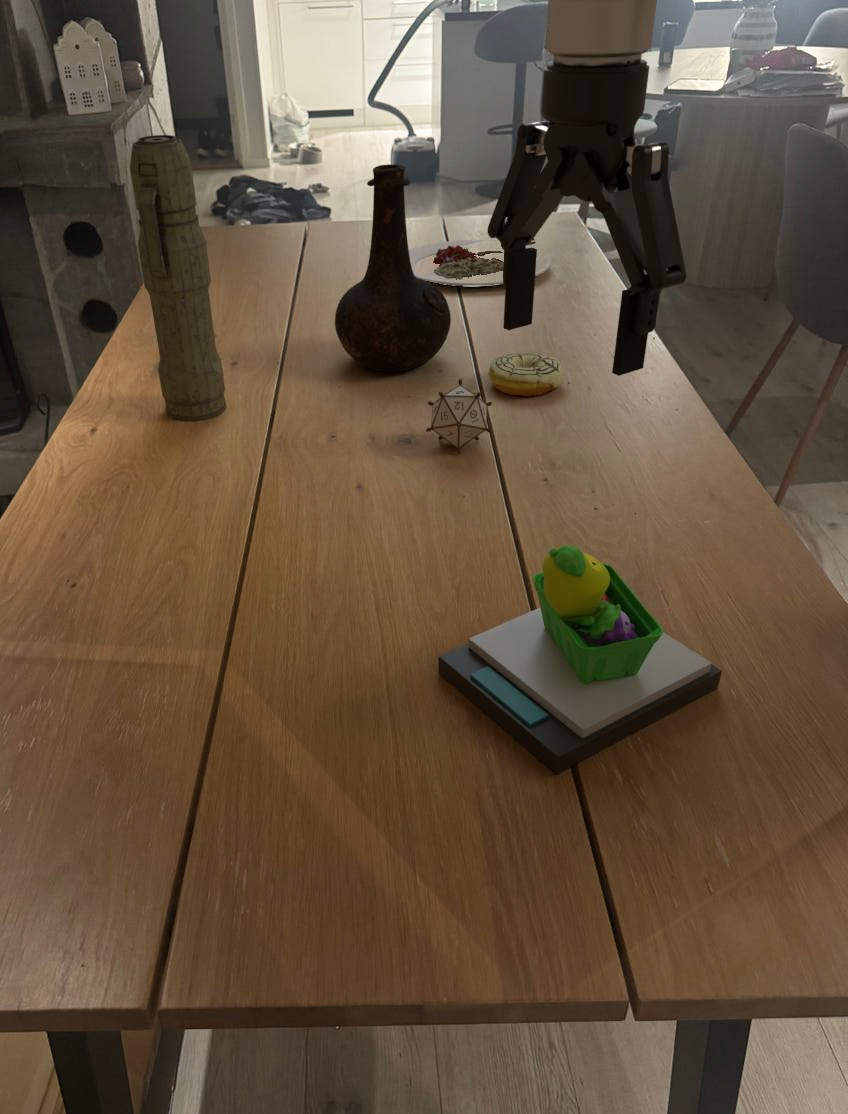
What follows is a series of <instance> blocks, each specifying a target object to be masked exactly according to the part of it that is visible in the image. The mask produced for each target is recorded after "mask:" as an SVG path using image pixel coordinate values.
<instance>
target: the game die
mask: <svg viewBox="0 0 848 1114" xmlns="http://www.w3.org/2000/svg"><path fill="white" fill-rule="evenodd" d="M457 383H458V385H457V386H455V387H454V388H452V389H450V390H449V391H447V392H446V393H444V392H443V391H438V396H439V398H438V399H437V400H435V401H434V402H433V401H431V400H429V401H427V405H428V406H432V407H431V420H430V421H431V422H430V427H426V430H425V432H428V433H429V432H431V431H433V432H434V433H436V434H437V435H438V441H440V440H443V439H444V440H445V441H446V442H448V443H449V444H450V445H452V446H453V447H455V448H456V450H455V453H456V455H457V456H459V455H460V454H461V448H463V447H464V446H465V445H467V444H468V443H470V442H471V441H473V440H475V441H479V440H480V437H479V436H480V435H481V434H483V433H484V432H487V433H488V434H489V433H493V430H492V428H490V427H488V407H492V404H493V401H488V402H487V403H486V402H485V401H484V400H483V399H482V398H481V396H482V392H481V391H478V392H477V393H474V392H473V391H472V390H469V388H467V387H465V386H464V385H463V379H462V378H461V377H459V379H458V382H457Z"/></svg>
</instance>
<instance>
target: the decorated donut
mask: <svg viewBox="0 0 848 1114" xmlns="http://www.w3.org/2000/svg"><path fill="white" fill-rule="evenodd" d="M488 371H489V372H488V376H489V379H490V381H491V382H492V384H493V386H494V387H495V388H496V389H497V390H498V391H500V392H502V393H504V394H507V395H509V396H521V397H531V396H533V395H534V397H537V396H540V395H542V394H543V393H544V394H546V393H549V392H551V391H554V390H553V389H555V388H556V389H557V388H558V387H559V386H560V385H561V384H562V381H563V377H564V374H565V369H564V366H563V364H562V363H561V362H560V361H559V360H558V359H557V358H555V357H553V356H551V355H545V354H538V353H532V352H527V353H526V352H525V353H509V354H506V355H502V356H499V357H497V358H495V359H493V360H492V362H490V363H489V368H488ZM556 389H555V390H556ZM550 390H551V391H550ZM548 391H549V392H548ZM536 395H537V396H536Z"/></svg>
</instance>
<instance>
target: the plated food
mask: <svg viewBox="0 0 848 1114" xmlns="http://www.w3.org/2000/svg"><path fill="white" fill-rule="evenodd" d="M482 241H483V242H484V241H491V239H490V240H487V239H464V240H461V239H460V240H450V241H449V240H448V241H442V242H434V243H430V244H424V245H421V246H417V247H414V248H412V249H409V256H410V262H411V267H412V270H413V273H414V275H415V277H416V278H419V279H422V280H424V281H429V283H430V282H434V283H440V284H446V285H455V286H463V285H494V284H503V281H498V282H488V283H459V280H461V279H462V278H463V277H468V278H469V277H472V275H473V276H476V275H480V274H481V275H487V274H491V273H496V272H499V271H503V269H504V268H503V265H504V262H503V261H501V260H499V259H496V258H492V259H491V260H489V259H484V258H480V257H479V258H477V257H476V256H474V255H478V256H484V255H485V254H490V253H503V252H501V251H485V252H478V253H477V254H476V253H472V252H469V251H468V249H467V248H466V249H465V248H464V249H463V248H462V247H461V246H463V245H469V244H473V243H476V242H477V243H478V242H482ZM544 253H545V254H546V256H548V263H547V264H546V265H545V267H543V268H542V269H540V270H539V271H537V272H535V277H537V276H539V275H541V274H544V273H545V272H546V271H547V270H549V269H550V267H551V265H550V264H552V259H551V256H549V255H548V254H547V253H546V252H544ZM432 255H436V257H434V261H433V263H435V264H440V265H439V267H437V268H436V269H434V272H430V274H432V275H430V274H429V275H428V276H425V277H424V276H422V275H420V274H418V273H417V272H415V270H414V265H415V264H416V263H417V262H418V261H420V260H421V259H424V258H426V257H429V256H432ZM549 266H550V267H549ZM456 279H457V280H456ZM458 279H459V280H458ZM434 283H433V284H434Z"/></svg>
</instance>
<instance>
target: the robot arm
mask: <svg viewBox="0 0 848 1114" xmlns="http://www.w3.org/2000/svg"><path fill="white" fill-rule="evenodd" d="M657 4H658V0H547V10H546V23H545V34H544V37H545V38H544V47H543V48H544V51H545V52H546V53H547V54H548V55H550V56H552V60H551V61H548V62H546V65H545V66H544V67H543V71H542V72H543V73H542V75H543V76H542V87H541V88H542V89H541V101H540V114H541V116H542V118H543V119H544V120H541V121H535V122H529V123H523V124H520V125H519V127H518V130H517V133H516V135H517V136H516V144H515V151H514V155H513V158H512V161H511V163H510V166H509V169H508V171H507V174H506V177H505V179H504V182H503V185H502V188H501V191H500V192H499V196H498V198H497V201H496V204H495V206H494V210H493V213H492V215H491V217H490V221H489V223H488V225H487V235H488V237H489V238H490V239H496V240H497V241H500V243H501V247H502V249H503V250H504V265H503V268H504V269H503V284H504V285H503V287H504V289H505V290H504V308H503V309H504V310H503V312H504V313H503V326H502V327H503V329H505V330H506V331H512V330H515V329H516V330H517V329H519V328H523V327H526V326H530V325H533V313H534V300H535V283H536V276H535V272H536V258H537V249H538V248H536V249H535V247H533V248H532V246H531V245H535V244H536V243H537V242H536V241H535V237H536V236H537V234H538V233H539V232H540V230H541V229H542V227H543V226H544V225H545V223H546V222H547V221H548V219H549V218H550V216H551V215H552V213H553V212H554V210H555V209H556V208H557V206H558V205H559V203H560V202H561V201H562V200H563V199H564V197H566V198H568V197H576V198H577V199H579V200H580V201H583V202H587V203H589V202H592V205H593V208H594V209H595V211H597V212H599V213H600V214H602V217H603V219H604V222H605V224H606V226H607V230H608V231H609V234H610V236H611V239H612V242H613V244H614V246H615V249H616V252H617V254H618V256H619V259H620V262H621V264H622V267H623V269H624V271H625V274H626V276H627V279H628V282H629V284H630V287H628V288H627V289H622V290H621V299H620V306H619V315H618V322H617V331H616V338H615V346H614V355H613V363H612V370H611V373H612V374H613V375H615V376H618V377H620V376H623V375H626V374H629V373H633V372H636V371H639V370H641V369H644V366H645V365H644V364H645V358H646V351H647V343H648V336H649V333H653V332H654V329H655V328H656V325H657V324H656V323H657V317H658V310H659V304H660V299H661V298H660V296H661V293H662V291H663V290H664V289H668V288H671V287H675V286H679V285H682V284H684V283H685V282H686V279H687V270H686V265H685V260H684V256H683V255H684V254H683V249H682V245H681V240H680V234H679V228H678V223H677V219H676V213H675V208H674V204H673V197H672V193H671V192H672V191H671V188H670V182H669V176H668V175H669V160H670V159H669V158H670V146H669V144H668V143H667V142H666V141H665V140H660V141H656V142H650V143H644V144H637V143H636V137H635V128H636V125H637V123H638V121H639V119H640V118H641V117H642V116H643V115H644V112H645V106H646V97H647V89H648V82H649V73H650V65H648V61H647V60H645V59H642V57H643V54H646V53H647V52H648V51H650V50H651V49H652V43H653V36H654V29H655V21H656V12H657ZM546 159H547V162H546ZM545 162H546V164H545ZM616 189H617V191H615V190H616ZM526 246H530V247H531V248H526Z"/></svg>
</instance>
